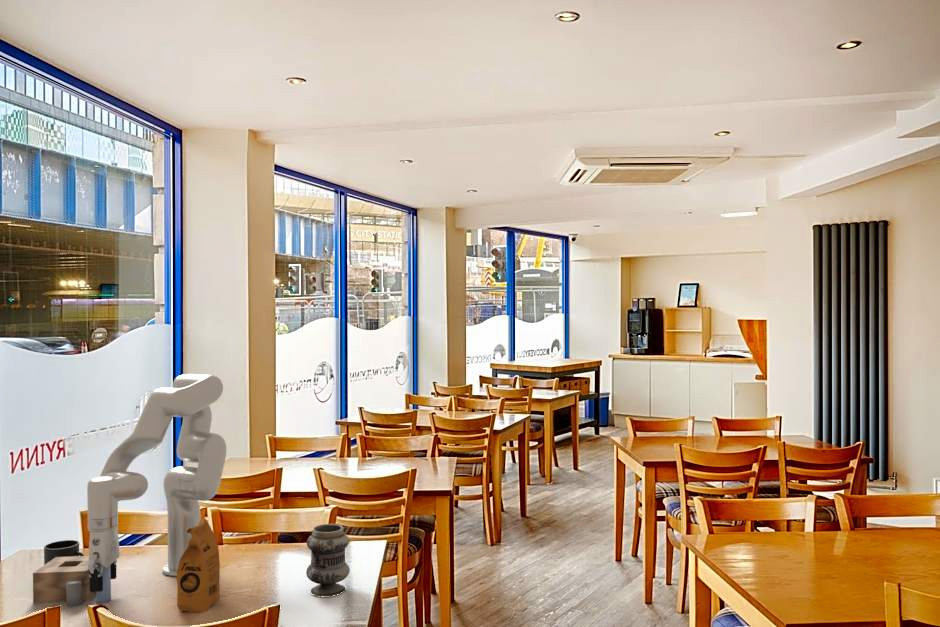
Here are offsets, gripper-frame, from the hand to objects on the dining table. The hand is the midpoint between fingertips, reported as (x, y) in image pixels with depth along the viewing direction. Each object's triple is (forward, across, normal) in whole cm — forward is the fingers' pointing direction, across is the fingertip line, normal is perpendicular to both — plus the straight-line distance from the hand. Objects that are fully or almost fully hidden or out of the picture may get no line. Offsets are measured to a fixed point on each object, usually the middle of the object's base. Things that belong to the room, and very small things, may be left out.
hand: (103, 585), depth 211 cm
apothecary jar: (+4, 0, -61) cm, 61 cm away
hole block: (+4, +8, +12) cm, 15 cm away
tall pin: (+4, 0, 0) cm, 4 cm away
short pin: (+4, -2, +7) cm, 8 cm away
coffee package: (+4, -6, -27) cm, 28 cm away
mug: (+4, +24, +20) cm, 32 cm away
